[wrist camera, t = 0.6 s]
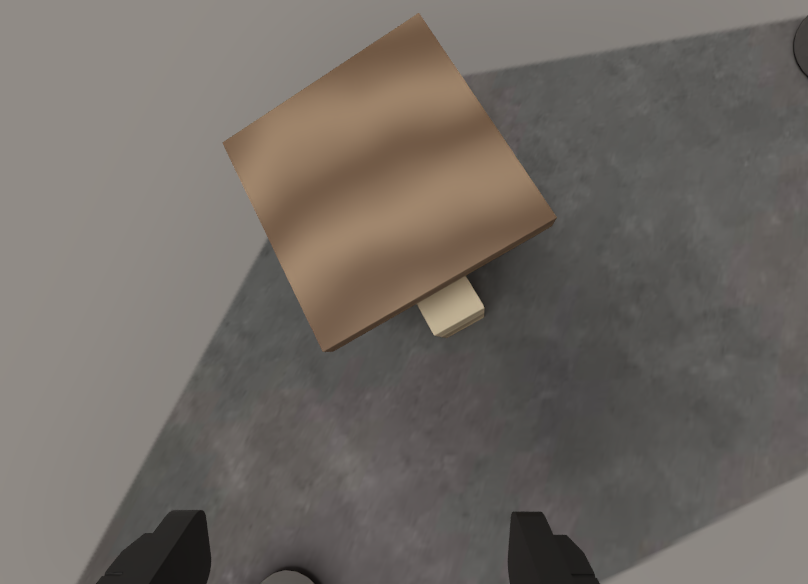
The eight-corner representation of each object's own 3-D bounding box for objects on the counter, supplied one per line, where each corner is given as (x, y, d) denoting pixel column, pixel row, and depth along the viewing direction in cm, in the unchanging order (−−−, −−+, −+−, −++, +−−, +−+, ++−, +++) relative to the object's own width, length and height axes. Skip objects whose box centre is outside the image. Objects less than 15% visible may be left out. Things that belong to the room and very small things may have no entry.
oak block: (483, 317, 37) (484, 307, 27) (446, 338, 38) (434, 335, 28) (462, 280, 38) (455, 258, 28) (426, 301, 38) (407, 287, 29)
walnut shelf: (522, 276, 37) (556, 217, 20) (393, 349, 38) (322, 351, 21) (446, 154, 40) (418, 12, 23) (329, 226, 41) (222, 142, 24)
